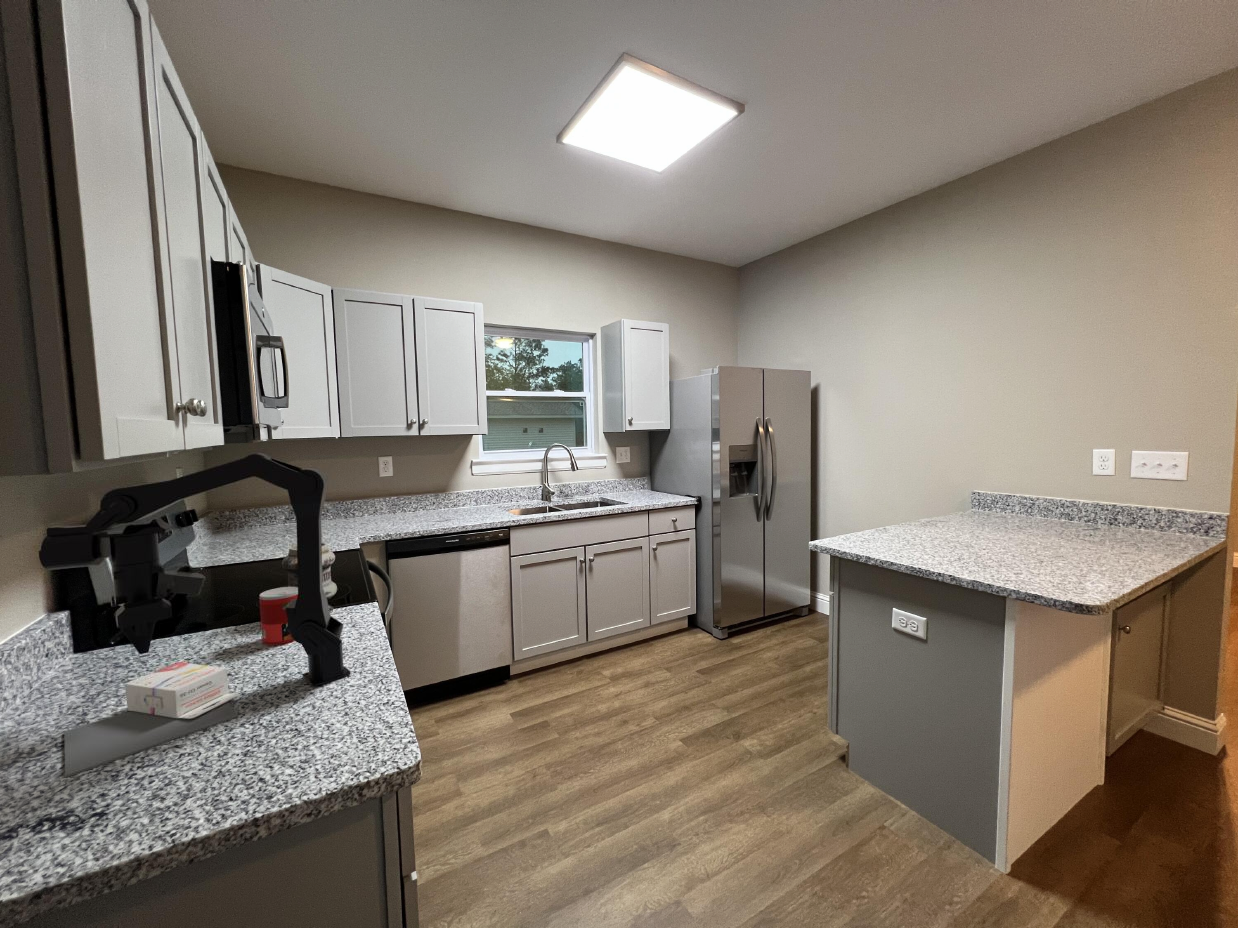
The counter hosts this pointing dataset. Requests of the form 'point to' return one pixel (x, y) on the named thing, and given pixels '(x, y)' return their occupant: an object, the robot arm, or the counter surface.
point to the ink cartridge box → (179, 691)
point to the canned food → (276, 615)
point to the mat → (131, 735)
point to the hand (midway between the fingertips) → (144, 652)
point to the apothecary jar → (327, 560)
